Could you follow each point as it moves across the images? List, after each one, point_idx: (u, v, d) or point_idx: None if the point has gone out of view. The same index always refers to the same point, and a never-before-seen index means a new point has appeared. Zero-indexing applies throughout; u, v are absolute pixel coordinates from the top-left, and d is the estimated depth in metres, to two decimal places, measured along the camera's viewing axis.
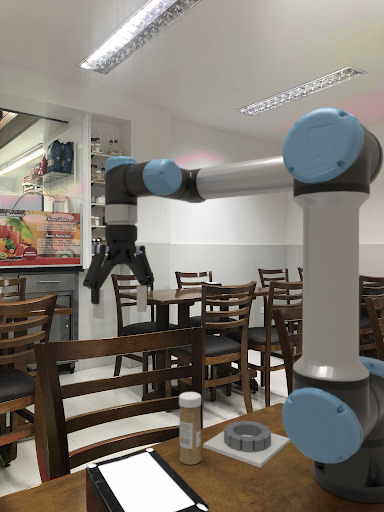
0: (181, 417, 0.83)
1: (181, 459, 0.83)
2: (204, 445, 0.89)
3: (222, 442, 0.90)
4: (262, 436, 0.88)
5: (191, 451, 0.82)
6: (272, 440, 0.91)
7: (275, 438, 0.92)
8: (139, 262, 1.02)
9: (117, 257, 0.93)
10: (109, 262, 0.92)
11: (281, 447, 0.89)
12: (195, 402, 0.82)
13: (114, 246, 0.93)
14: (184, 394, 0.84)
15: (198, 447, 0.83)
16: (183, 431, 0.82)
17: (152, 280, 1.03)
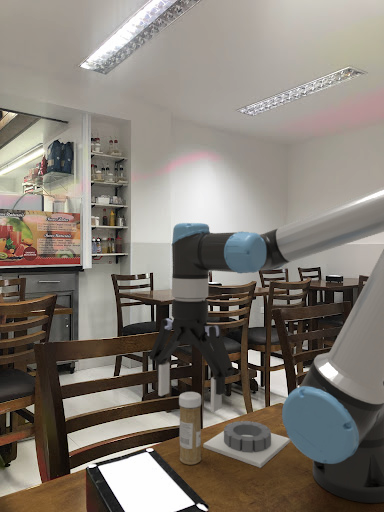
0: (181, 417, 0.83)
1: (181, 459, 0.83)
2: (204, 445, 0.89)
3: (222, 442, 0.90)
4: (262, 436, 0.88)
5: (191, 451, 0.82)
6: (272, 440, 0.91)
7: (275, 438, 0.92)
8: None
9: (174, 335, 0.84)
10: None
11: (281, 447, 0.89)
12: (195, 402, 0.82)
13: (174, 322, 0.85)
14: (184, 394, 0.84)
15: (198, 447, 0.83)
16: (183, 431, 0.82)
17: (224, 374, 0.78)
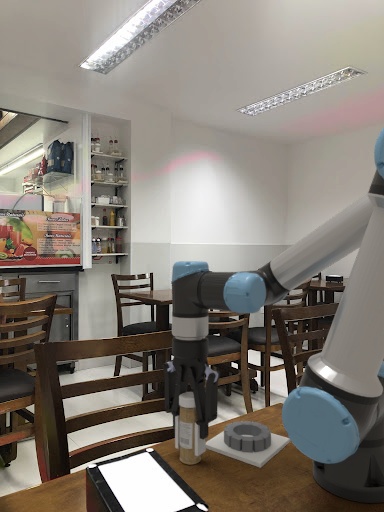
0: (181, 417, 0.83)
1: (181, 459, 0.83)
2: None
3: (222, 442, 0.90)
4: (262, 436, 0.88)
5: (191, 451, 0.82)
6: (272, 440, 0.91)
7: (275, 438, 0.92)
8: None
9: (177, 376, 0.84)
10: None
11: (281, 447, 0.89)
12: None
13: (174, 360, 0.85)
14: (184, 394, 0.84)
15: None
16: (183, 431, 0.82)
17: (206, 419, 0.80)
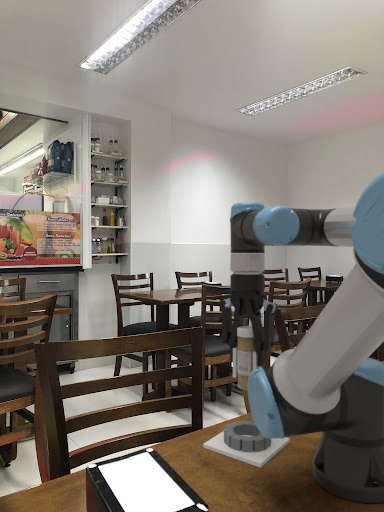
0: (239, 347, 0.90)
1: (239, 386, 0.90)
2: (204, 445, 0.89)
3: (222, 442, 0.90)
4: (262, 436, 0.88)
5: None
6: (272, 440, 0.91)
7: (275, 438, 0.92)
8: None
9: (235, 310, 0.91)
10: None
11: (281, 447, 0.89)
12: None
13: (231, 296, 0.92)
14: (241, 327, 0.91)
15: None
16: (241, 360, 0.89)
17: (265, 347, 0.87)
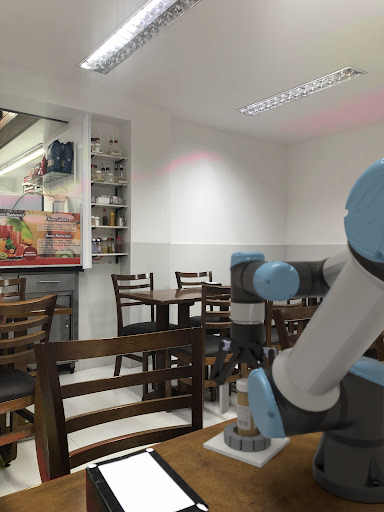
0: (239, 401, 0.90)
1: None
2: (204, 445, 0.89)
3: (222, 442, 0.90)
4: (262, 436, 0.88)
5: (250, 432, 0.89)
6: (272, 440, 0.91)
7: (275, 438, 0.92)
8: None
9: (233, 356, 0.91)
10: None
11: (281, 447, 0.89)
12: None
13: (232, 343, 0.92)
14: (241, 380, 0.91)
15: (255, 429, 0.90)
16: (241, 414, 0.89)
17: None
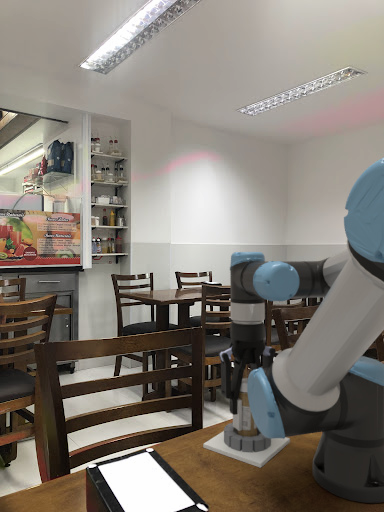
0: None
1: None
2: (204, 445, 0.89)
3: (222, 442, 0.90)
4: (262, 436, 0.88)
5: (250, 432, 0.89)
6: (272, 440, 0.91)
7: (275, 438, 0.92)
8: (264, 364, 0.93)
9: (243, 360, 0.88)
10: (238, 366, 0.89)
11: (281, 447, 0.89)
12: None
13: (236, 347, 0.88)
14: None
15: (255, 429, 0.90)
16: None
17: None
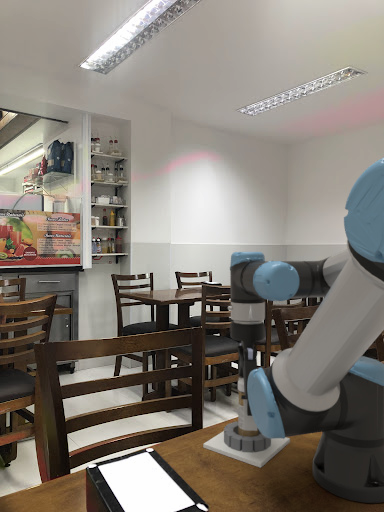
0: None
1: None
2: (204, 445, 0.89)
3: (222, 442, 0.90)
4: (262, 436, 0.88)
5: (257, 430, 0.90)
6: (272, 440, 0.91)
7: (275, 438, 0.92)
8: None
9: (256, 358, 0.88)
10: None
11: (281, 447, 0.89)
12: None
13: (253, 347, 0.88)
14: None
15: None
16: None
17: None
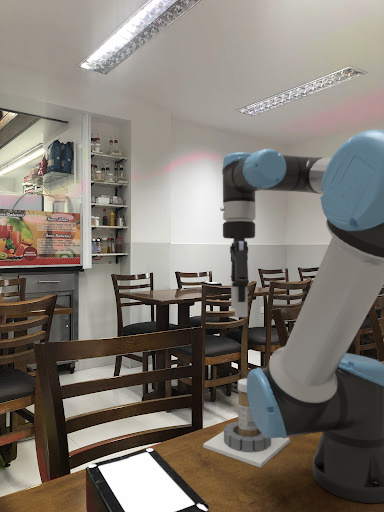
0: None
1: None
2: (204, 445, 0.89)
3: (222, 442, 0.90)
4: (262, 436, 0.88)
5: (257, 430, 0.90)
6: (272, 440, 0.91)
7: (275, 438, 0.92)
8: None
9: (247, 254, 0.93)
10: None
11: (281, 447, 0.89)
12: None
13: None
14: (244, 382, 0.90)
15: None
16: None
17: None
